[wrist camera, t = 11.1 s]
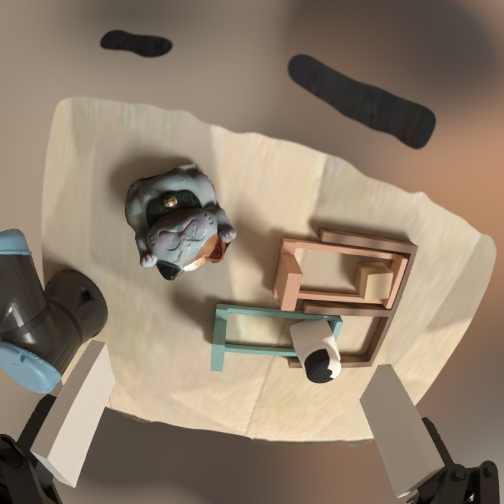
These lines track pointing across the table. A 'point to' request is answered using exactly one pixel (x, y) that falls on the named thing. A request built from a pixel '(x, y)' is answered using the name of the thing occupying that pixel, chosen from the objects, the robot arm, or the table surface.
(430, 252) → the table surface
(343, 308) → the lane rails
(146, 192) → the lucky cat figurine
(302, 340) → the medicine bottle
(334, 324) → the frame
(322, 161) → the table surface
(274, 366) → the table surface
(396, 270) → the sled
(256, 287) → the table surface
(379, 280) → the oak cube
